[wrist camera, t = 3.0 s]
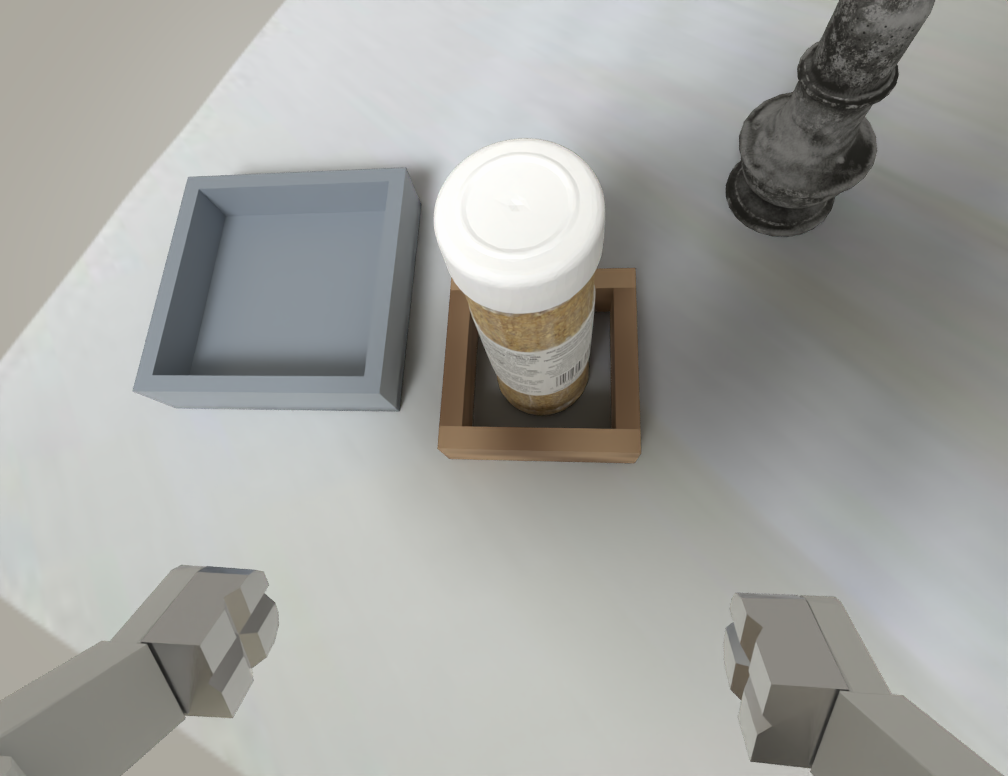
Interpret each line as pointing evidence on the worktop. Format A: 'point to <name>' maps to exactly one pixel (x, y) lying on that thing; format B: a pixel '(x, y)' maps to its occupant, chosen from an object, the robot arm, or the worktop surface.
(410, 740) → the worktop surface
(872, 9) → the salt shaker
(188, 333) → the slate tray
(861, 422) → the worktop surface
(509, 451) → the walnut collar
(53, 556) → the worktop surface
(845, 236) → the worktop surface
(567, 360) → the sprinkles bottle
